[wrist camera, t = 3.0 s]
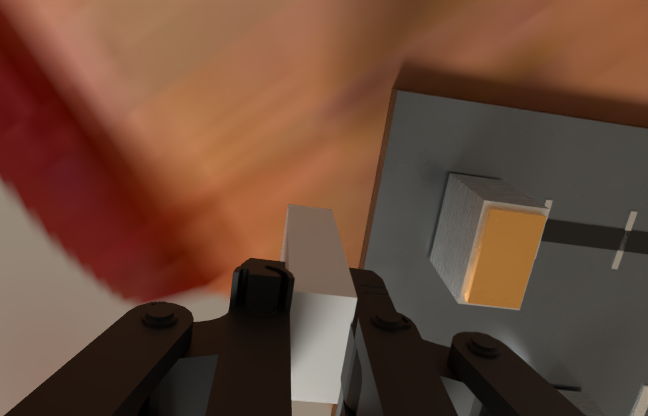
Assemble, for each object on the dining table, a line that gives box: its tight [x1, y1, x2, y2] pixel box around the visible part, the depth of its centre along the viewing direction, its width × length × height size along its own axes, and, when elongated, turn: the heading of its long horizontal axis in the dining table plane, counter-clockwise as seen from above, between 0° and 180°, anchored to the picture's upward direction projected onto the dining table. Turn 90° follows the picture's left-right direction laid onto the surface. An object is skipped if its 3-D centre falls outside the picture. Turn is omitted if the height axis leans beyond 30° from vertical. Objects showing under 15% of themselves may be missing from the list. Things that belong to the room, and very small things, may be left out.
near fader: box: [430, 173, 550, 310], centre depth 20 cm, size 4×2×4 cm, turn 171°
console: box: [331, 88, 648, 416], centre depth 24 cm, size 20×22×3 cm
